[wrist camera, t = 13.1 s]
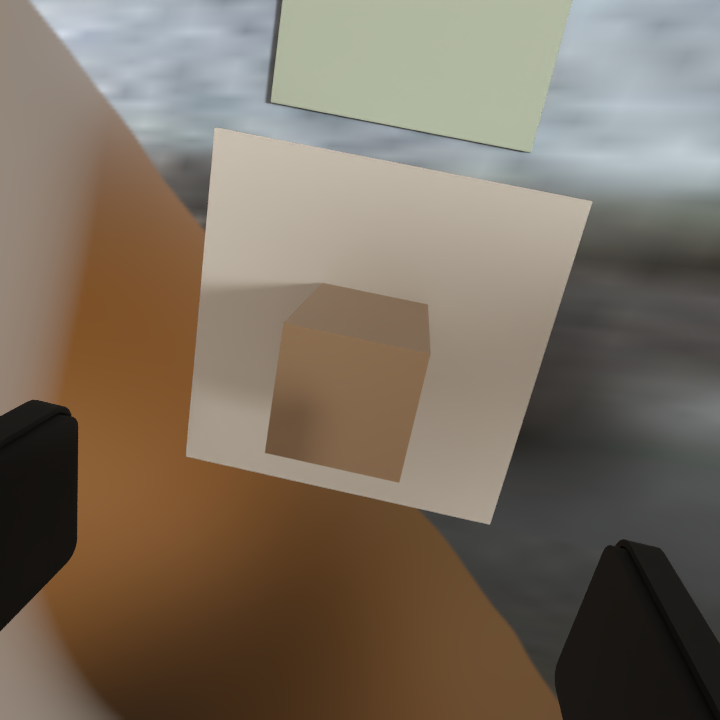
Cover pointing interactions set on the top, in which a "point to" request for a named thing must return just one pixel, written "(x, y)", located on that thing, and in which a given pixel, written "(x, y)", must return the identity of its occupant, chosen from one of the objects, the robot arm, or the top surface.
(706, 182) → the top surface
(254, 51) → the top surface
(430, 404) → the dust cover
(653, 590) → the robot arm
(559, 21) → the mat
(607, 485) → the top surface
